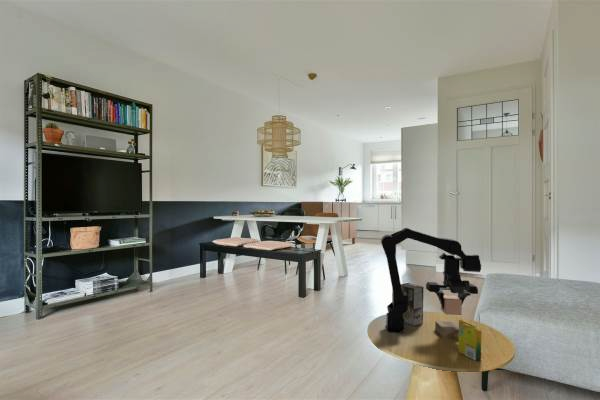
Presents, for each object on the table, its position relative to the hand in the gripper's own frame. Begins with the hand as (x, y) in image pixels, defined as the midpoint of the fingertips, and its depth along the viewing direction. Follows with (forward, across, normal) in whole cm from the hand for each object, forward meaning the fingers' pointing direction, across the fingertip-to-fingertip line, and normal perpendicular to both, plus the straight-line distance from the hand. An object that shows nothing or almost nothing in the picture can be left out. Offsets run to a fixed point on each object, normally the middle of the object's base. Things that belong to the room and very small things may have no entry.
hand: (450, 308), depth 138 cm
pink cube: (+1, 0, 0) cm, 1 cm away
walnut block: (+11, 0, 0) cm, 11 cm away
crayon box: (+10, 0, -19) cm, 22 cm away
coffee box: (+11, -13, +13) cm, 21 cm away
